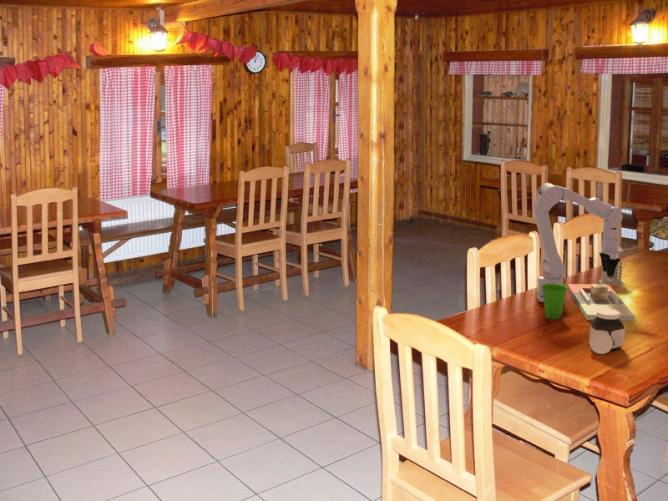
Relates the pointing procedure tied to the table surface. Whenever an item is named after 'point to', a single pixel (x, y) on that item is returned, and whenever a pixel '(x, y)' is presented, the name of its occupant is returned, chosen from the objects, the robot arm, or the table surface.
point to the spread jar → (606, 331)
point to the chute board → (598, 302)
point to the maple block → (599, 292)
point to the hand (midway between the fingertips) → (608, 273)
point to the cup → (554, 299)
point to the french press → (614, 279)
